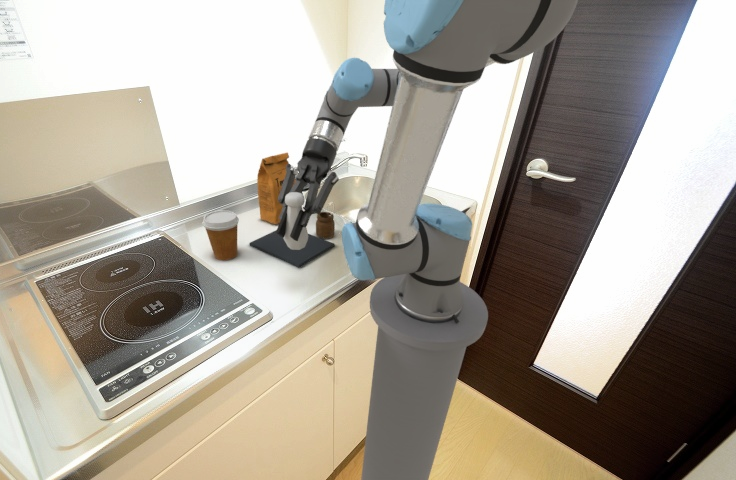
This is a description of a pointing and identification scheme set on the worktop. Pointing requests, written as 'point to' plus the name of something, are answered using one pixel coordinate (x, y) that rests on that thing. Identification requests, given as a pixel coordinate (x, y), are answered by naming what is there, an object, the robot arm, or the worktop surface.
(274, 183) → the coffee package
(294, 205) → the salt shaker
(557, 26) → the robot arm
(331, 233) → the brown jar with stick
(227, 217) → the disposable coffee cup
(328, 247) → the mat
